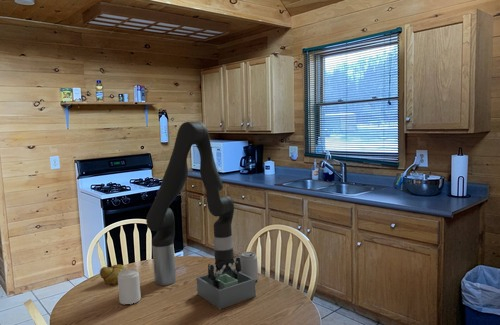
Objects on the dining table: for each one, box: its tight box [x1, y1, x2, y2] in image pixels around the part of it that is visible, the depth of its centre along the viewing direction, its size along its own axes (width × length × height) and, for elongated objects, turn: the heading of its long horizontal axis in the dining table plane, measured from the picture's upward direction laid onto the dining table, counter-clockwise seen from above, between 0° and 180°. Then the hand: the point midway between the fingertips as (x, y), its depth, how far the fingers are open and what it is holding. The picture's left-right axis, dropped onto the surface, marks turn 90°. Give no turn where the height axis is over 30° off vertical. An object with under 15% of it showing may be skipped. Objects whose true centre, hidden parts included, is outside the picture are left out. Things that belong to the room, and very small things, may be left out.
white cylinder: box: [117, 268, 142, 305], centre depth 158 cm, size 8×8×12 cm
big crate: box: [196, 270, 257, 310], centre depth 160 cm, size 18×17×7 cm
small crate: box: [218, 274, 238, 290], centre depth 160 cm, size 9×6×6 cm, turn 36°
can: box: [239, 251, 259, 282], centre depth 174 cm, size 8×8×12 cm
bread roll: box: [99, 264, 128, 285], centre depth 180 cm, size 13×10×8 cm
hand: (225, 285), depth 160 cm, fingers open, 8 cm apart
